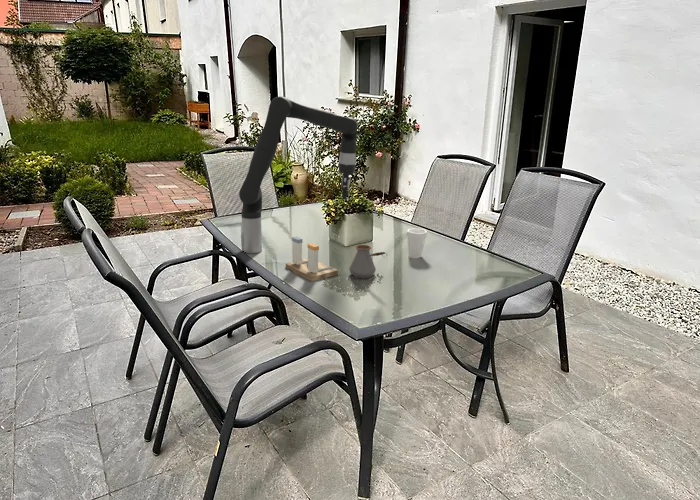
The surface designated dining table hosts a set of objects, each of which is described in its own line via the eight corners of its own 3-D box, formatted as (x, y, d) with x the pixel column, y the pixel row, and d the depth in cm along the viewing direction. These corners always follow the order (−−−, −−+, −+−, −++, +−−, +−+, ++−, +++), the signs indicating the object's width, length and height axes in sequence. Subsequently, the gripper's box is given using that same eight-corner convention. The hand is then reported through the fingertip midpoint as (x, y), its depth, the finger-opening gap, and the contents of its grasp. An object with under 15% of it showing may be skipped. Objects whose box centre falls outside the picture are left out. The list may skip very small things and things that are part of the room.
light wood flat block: (311, 281, 193) (311, 274, 192) (285, 267, 208) (285, 260, 207) (337, 274, 202) (338, 267, 201) (311, 261, 216) (311, 255, 215)
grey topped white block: (297, 265, 204) (297, 239, 200) (291, 262, 207) (291, 237, 203) (302, 264, 205) (302, 239, 201) (296, 261, 209) (296, 236, 205)
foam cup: (426, 255, 231) (429, 230, 227) (421, 260, 223) (423, 234, 219) (408, 252, 235) (410, 227, 231) (402, 257, 227) (404, 231, 223)
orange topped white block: (313, 273, 195) (314, 247, 191) (307, 270, 198) (307, 244, 195) (318, 272, 196) (318, 246, 193) (312, 268, 200) (312, 243, 196)
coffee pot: (344, 273, 204) (345, 240, 199) (365, 268, 210) (367, 237, 205) (371, 290, 187) (373, 254, 182) (394, 285, 193) (396, 250, 188)
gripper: (340, 159, 220) (338, 192, 226) (337, 164, 207) (335, 199, 213) (356, 160, 220) (353, 194, 226) (354, 165, 207) (351, 201, 212)
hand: (344, 196), depth 219 cm, fingers open, 8 cm apart
